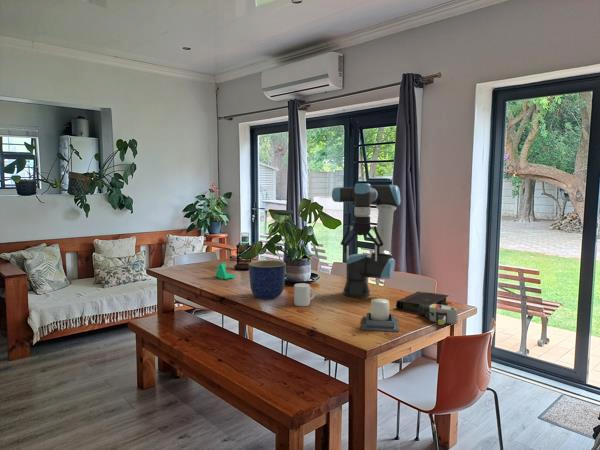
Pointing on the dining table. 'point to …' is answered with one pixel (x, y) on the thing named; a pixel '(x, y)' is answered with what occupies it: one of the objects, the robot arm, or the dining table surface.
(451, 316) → the film camera
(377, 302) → the plug
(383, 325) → the grey square tray
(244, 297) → the dining table surface
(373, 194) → the robot arm
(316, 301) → the dining table surface
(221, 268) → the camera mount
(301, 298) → the mug
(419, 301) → the diary
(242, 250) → the dark piece
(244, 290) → the dining table surface
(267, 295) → the planter
